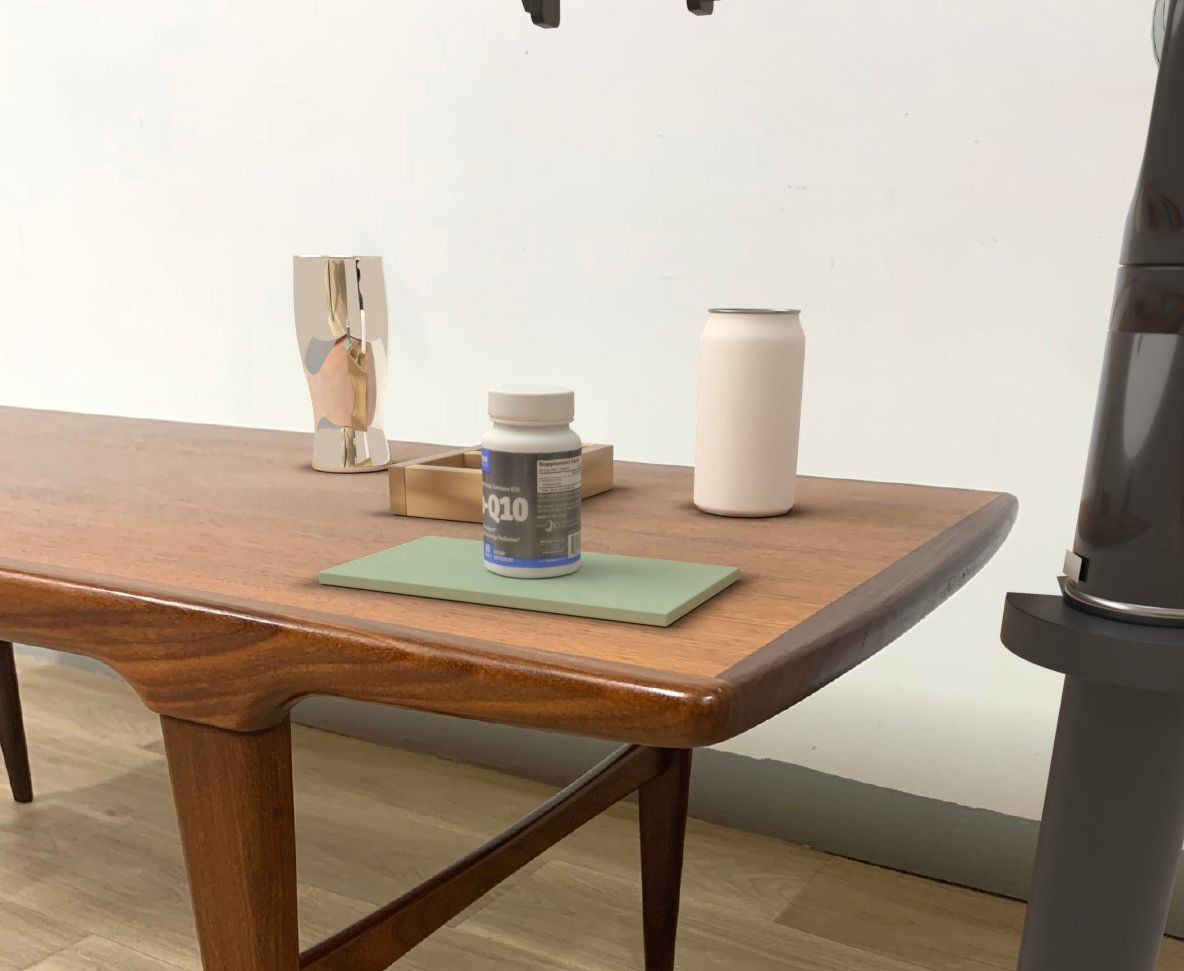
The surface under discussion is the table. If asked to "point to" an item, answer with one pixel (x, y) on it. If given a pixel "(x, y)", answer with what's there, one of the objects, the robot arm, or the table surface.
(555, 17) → the robot arm
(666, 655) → the table surface
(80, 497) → the table surface
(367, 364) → the beer glass
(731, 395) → the can
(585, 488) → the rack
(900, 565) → the table surface
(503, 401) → the pill bottle
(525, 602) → the mat
